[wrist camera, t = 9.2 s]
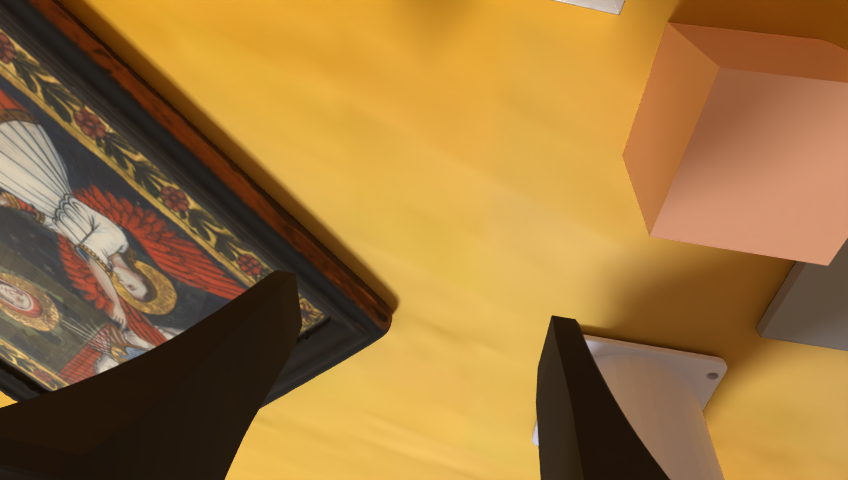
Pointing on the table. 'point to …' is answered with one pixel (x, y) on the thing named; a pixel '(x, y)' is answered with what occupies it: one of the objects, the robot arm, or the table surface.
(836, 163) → the terracotta block
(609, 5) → the picture frame
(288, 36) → the table surface
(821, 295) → the grey board
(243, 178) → the framed painting
